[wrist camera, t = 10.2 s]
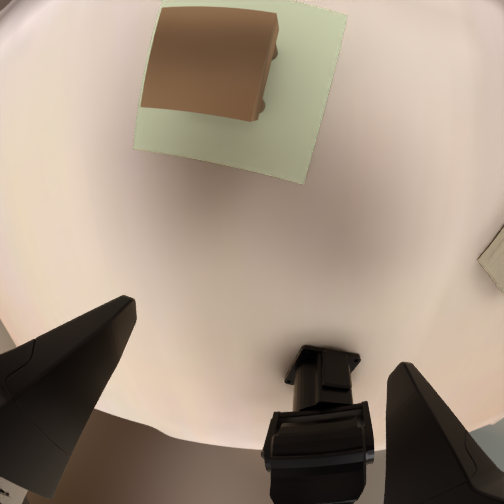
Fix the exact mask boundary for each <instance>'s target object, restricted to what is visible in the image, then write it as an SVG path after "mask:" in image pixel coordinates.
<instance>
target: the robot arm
mask: <svg viewBox="0 0 504 504" xmlns="http://www.w3.org/2000/svg"><path fill="white" fill-rule="evenodd" d="M136 320H137V314H136V302H135V299H133V298H131V297H128V296H126V295H122V296H120V297H118V298H116V299H114V300H111V301H109V302H107V303H105V304H103V305H101V306H99V307H97V308H95V309H93V310H91V311H89V312H87V313H85V314H83V315H81V316H79V317H77V318H75V319H73V320H71V321H69V322H67V323H65V324H63V325H61V326H59V327H57V328H55V329H53V330H51V331H49V332H47V333H45V334H43V335H41V336H39V337H37V338H36V339H33V340H31V341H29V342H27V343H25V344H23V345H20V346H18V347H16V348H14V349H12V350H10V351H7V352H5V353H2V354H0V504H29V502H28V500H27V498H26V493H27V491H31V492H33V493H35V494H38V495H40V496H43V497H45V498H48V499H50V500H51V499H52V498H53V496H54V494H55V491H56V489H57V486H58V484H59V482H60V479H61V477H62V474H63V472H64V470H65V468H66V466H67V463H68V461H69V459H70V456H71V454H72V452H73V450H74V448H75V446H76V444H77V441H78V439H79V437H80V435H81V433H82V431H83V429H84V427H85V425H86V423H87V421H88V419H89V417H90V415H91V413H92V411H93V409H94V407H95V405H96V403H97V402H98V400H99V398H100V396H101V394H102V392H103V390H104V388H105V386H106V385H107V383H108V381H109V379H110V377H111V375H112V374H113V372H114V370H115V368H116V366H117V365H118V363H119V361H120V358H121V356H122V354H123V351H124V349H125V347H126V344H127V342H128V340H129V337H130V335H131V333H132V330H133V328H134V326H135V323H136ZM360 361H361V359H360V356H359V355H356V354H350V353H344V352H338V351H332V350H326V349H321V348H315V347H310V346H303V347H302V348H301V350H300V352H299V353H298V355H297V357H296V359H295V361H294V362H293V364H292V366H291V368H290V370H289V371H288V373H287V375H286V377H285V379H284V382H285V383H286V384H290V385H294V397H293V412H274V414H273V418H272V419H271V422H270V425H269V429H268V433H267V436H266V440H265V444H264V447H263V449H262V452H261V457H262V458H263V459H264V460H265V467H266V470H267V471H268V472H271V487H270V497H271V499H272V501H273V503H274V504H353V503H354V502H355V501H357V500H358V498H359V497H360V495H361V493H362V492H363V489H364V487H365V485H366V465H368V464H372V463H373V462H374V437H373V430H372V424H371V418H370V412H369V407H368V402H367V401H364V402H362V403H358V404H353V398H352V389H351V388H352V383H351V375H350V374H351V372H352V371H353V370H354V369H355V367H356V366H357V365H358V363H359V362H360ZM384 504H504V472H502V471H501V470H500V469H499V468H498V467H497V466H496V465H495V464H494V462H493V461H492V460H491V459H490V458H489V457H488V456H487V455H486V453H485V452H484V451H483V450H482V449H481V448H480V446H479V445H478V444H477V443H476V442H475V440H474V439H473V438H472V437H471V435H470V434H469V433H468V431H467V430H465V427H464V426H463V425H462V424H461V422H460V421H459V420H458V418H457V417H456V416H455V415H454V413H453V412H452V411H451V410H450V408H449V407H448V406H447V405H446V403H445V402H444V401H443V400H442V398H441V397H440V396H439V395H438V394H437V392H436V391H435V390H434V389H433V387H432V386H431V385H430V384H429V383H428V381H427V380H426V379H425V378H424V377H423V376H422V374H421V373H420V372H419V371H418V370H417V368H416V367H415V366H414V365H413V364H412V363H410V362H401V363H400V364H399V365H398V366H397V367H396V368H395V369H394V371H393V372H392V373H391V374H390V375H389V377H388V381H387V404H386V478H385V494H384Z"/></svg>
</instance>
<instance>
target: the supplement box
mask: <svg viewBox="0 0 504 504" xmlns="http://www.w3.org/2000/svg"><path fill="white" fill-rule="evenodd" d="M478 262H479V263H480V265H481V266H482V267H483V268H484V270H485V271H486V272H487V273H488V275H489V276H490V277H491V279H492V280H493V281H494V283H495V284H496V285H497V287H498V288H499V289H500V291H501V292H502V294H503V295H504V227H503V229H502V230H501V231H500V233H499V234H498V235H497V237H496V238H495V240H494V241H493V242H492V243H491V245H490V246H489V247H488V248H487V250H486V251H485V252H484V253H483V254H482V256H481V257H480V258H479V259H478Z"/></svg>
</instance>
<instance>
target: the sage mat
mask: <svg viewBox="0 0 504 504" xmlns="http://www.w3.org/2000/svg"><path fill="white" fill-rule="evenodd" d="M183 6H208V7H229V8H241V9H250V10H258V11H266V12H272V13H277V19H278V25H279V32H278V36H277V40H276V46H277V50H278V55H277V57H276V58H275V59H274V60H272V61H271V65H270V69H269V73H268V78H267V82H266V86H265V90H264V95H263V100H264V102H265V109H264V111H263V112H262V113H260V114H259V116H258V120H256V121H252V122H248V121H243V120H238V119H233V118H227V117H221V116H215V115H208V114H202V113H194V112H186V111H178V110H168V109H158V108H145V107H141V100H142V93H143V87H144V82H145V76H146V71H147V66H148V61H149V56H150V52H151V47H152V43H153V39H154V35H155V31H156V27H157V23H158V20H159V16H160V13H161V9H162V7H183ZM346 20H347V15H344V14H341V13H338V12H335V11H331V10H328V9H324V8H320V7H316V6H312V5H308V4H304V3H299V2H294V1H289V0H162V3H161V7H160V10H159V13H158V17H157V20H156V24H155V27H154V31H153V35H152V39H151V43H150V47H149V51H148V56H147V60H146V65H145V70H144V75H143V80H142V86H141V92H140V98H139V104H138V111H137V118H136V126H135V135H134V145H133V149H136V150H143V151H150V152H156V153H162V154H168V155H174V156H180V157H186V158H191V159H196V160H201V161H206V162H211V163H216V164H221V165H226V166H230V167H235V168H239V169H243V170H248V171H252V172H256V173H260V174H264V175H268V176H272V177H276V178H280V179H284V180H288V181H291V182H295V183H299V184H302V185H304V181H305V178H306V174H307V171H308V167H309V164H310V160H311V157H312V153H313V150H314V146H315V142H316V139H317V135H318V132H319V128H320V124H321V121H322V117H323V113H324V109H325V106H326V102H327V98H328V94H329V90H330V86H331V82H332V78H333V75H334V71H335V66H336V62H337V58H338V54H339V50H340V46H341V42H342V37H343V33H344V29H345V24H346Z"/></svg>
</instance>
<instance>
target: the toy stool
mask: <svg viewBox="0 0 504 504" xmlns="http://www.w3.org/2000/svg"><path fill="white" fill-rule="evenodd" d="M278 32H279V25H278V19H277V13H272V12H266V11H258V10H250V9H241V8H229V7H208V6H183V7H162V9H161V13H160V16H159V20H158V23H157V27H156V31H155V35H154V39H153V43H152V47H151V52H150V56H149V61H148V66H147V71H146V76H145V82H144V87H143V93H142V100H141V107H145V108H158V109H168V110H178V111H186V112H194V113H202V114H208V115H215V116H221V117H227V118H233V119H238V120H243V121H248V122H252V121H256V120H258V116H259V114H260V113H262V112H263V111H264V109H265V102H264V100H263V95H264V90H265V86H266V82H267V78H268V73H269V69H270V65H271V61H272V60H274V59H275V58H276V57H277V55H278V50H277V46H276V40H277V36H278Z"/></svg>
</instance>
